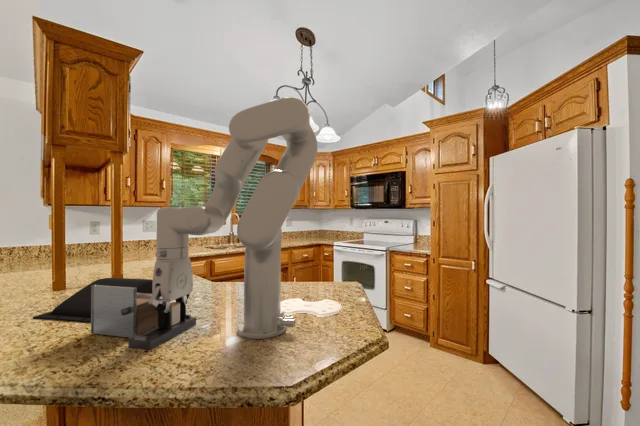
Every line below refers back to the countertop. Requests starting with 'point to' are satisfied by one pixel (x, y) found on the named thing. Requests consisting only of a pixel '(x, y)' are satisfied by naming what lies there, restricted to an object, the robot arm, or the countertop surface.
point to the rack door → (113, 310)
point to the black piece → (80, 302)
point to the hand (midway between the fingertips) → (172, 322)
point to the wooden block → (145, 313)
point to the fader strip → (160, 334)
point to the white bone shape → (310, 307)
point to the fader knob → (174, 313)
